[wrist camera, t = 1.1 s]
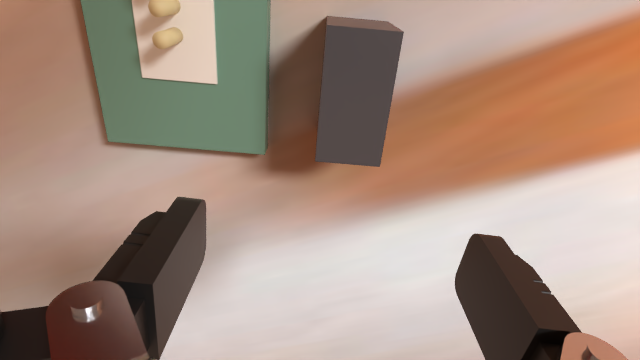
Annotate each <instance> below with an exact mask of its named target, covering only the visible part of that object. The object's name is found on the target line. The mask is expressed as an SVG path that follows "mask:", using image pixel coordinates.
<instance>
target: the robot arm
mask: <svg viewBox="0 0 640 360" xmlns="http://www.w3.org/2000/svg"><path fill="white" fill-rule="evenodd" d="M205 250H206V203H205V200H201V199H193V198H185V197H177V198H176V199H175V201H174V202H173V203H172V205H171V206H170V208H169V209H168V210H167V212H158V211H156V212H154V213H153V214H151V215H149V216H148V217H146V218H144V219H143V220H141V221H140V222H139V223H138V225H137V226H136V227H135V228H134V230H133V231H132V232H131V235H129V236H128V237H127V238H126V240H125V241H124V243H123V245H121V246H120V247H119V248H118V250H117V251H116V252H115V253H114V255H113V256H112V257H111V258H110V260H109V261H108V262H107V263H106V265H105V266H104V267H103V268H102V270H101V271H100V272H99V273H98V275H97V276H96V277H95V278H94V280H93V281H89V282H85V283H81V284H78V285H75V286H73V287H71V288H69V289H67V290H65V291H63V292H62V293H60V294H59V295H58V296H57V297H56V298H54V299H53V300H52V302H51V303H50V304H49V306H44V307H38V308H31V309H23V310H15V311H8V312H0V360H155V359H156V360H159V359H160V357H161V354H162V352H163V350H164V348H165V346H166V343H167V341H168V339H169V337H170V334H171V332H172V330H173V328H174V325H175V323H176V321H177V319H178V316H179V314H180V312H181V310H182V308H183V305H184V303H185V301H186V299H187V296H188V294H189V292H190V290H191V287H192V285H193V283H194V281H195V279H196V276H197V274H198V272H199V270H200V267H201V265H202V263H203V259H204V255H205ZM455 289H456V293H457V296H458V298H459V300H460V303H461V305H462V307H463V309H464V312H465V314H466V316H467V319H468V321H469V323H470V325H471V328H472V330H473V332H474V334H475V337H476V339H477V341H478V344H479V346H480V348H481V350H482V353H483V355H484V357H485V360H628V359H627V358H626V357H625V356H624V355H623V354H622V353H621V352H619V351H618V350H617V349H616V348H614V347H613V346H611V345H610V344H608V343H607V342H605V341H603V340H601V339H599V338H597V337H595V336H592V335H589V334H585V333H582V332H581V331H580V329H579V328H578V327H577V325H576V324H575V323H574V322H573V320H572V319H571V318H570V316H569V315H568V314H567V312H566V311H565V310H564V308H563V307H562V306H561V304H560V303H559V302H558V300H557V299H556V298H555V296H554V295H551V291H550V290H549V288H548V287H547V286H546V285H545V283H543V281H542V279H541V278H540V277H539V275H538V274H537V273H536V271H535V270H534V269H533V267H531V266H530V265H529V264H528V263H526V262H525V261H524V260H523V259H521V258H520V257H519V256H518V255H515V254H514V253H513V252H512V250H511V249H510V248H509V246H508V245H507V243H506V242H505V241H504V239H503V238H502V237H499V236H491V235H483V234H473V235H472V236H471V237H470V239H469V242H468V244H467V247H466V249H465V252H464V255H463V257H462V260H461V262H460V265H459V267H458V270H457V273H456V277H455Z"/></svg>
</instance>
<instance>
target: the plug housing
mask: <svg viewBox="0 0 640 360" xmlns="http://www.w3.org/2000/svg"><path fill="white" fill-rule="evenodd" d="M403 33H404V32H403V31H401V30H400V29H398V28H397V27H395V26H394V25H392V24H391V23H389V22H386V21H375V20H364V19H354V18H343V17H332V16H327V23H326V35H325V47H324V59H323V70H322V82H321V94H320V106H319V117H318V129H317V143H316V157H315V161H317V162H329V163H340V164H352V165H364V166H376V167H380V163H381V157H382V152H383V146H384V140H385V135H386V129H387V123H388V118H389V112H390V106H391V101H392V95H393V89H394V84H395V78H396V72H397V67H398V61H399V55H400V50H401V44H402V38H403Z"/></svg>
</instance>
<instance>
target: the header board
mask: <svg viewBox="0 0 640 360" xmlns="http://www.w3.org/2000/svg"><path fill="white" fill-rule="evenodd" d="M81 5H82V10H83V16H84V21H85V26H86V31H87V36H88V41H89V46H90V51H91V56H92V62H93V67H94V72H95V77H96V82H97V87H98V92H99V97H100V102H101V107H102V113H103V118H104V123H105V128H106V133H107V138H108V142H120V143H132V144H144V145H155V146H167V147H179V148H191V149H203V150H215V151H227V152H239V153H250V154H262V155H265V153H266V150H267V147H268V98H269V47H270V0H81Z"/></svg>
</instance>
